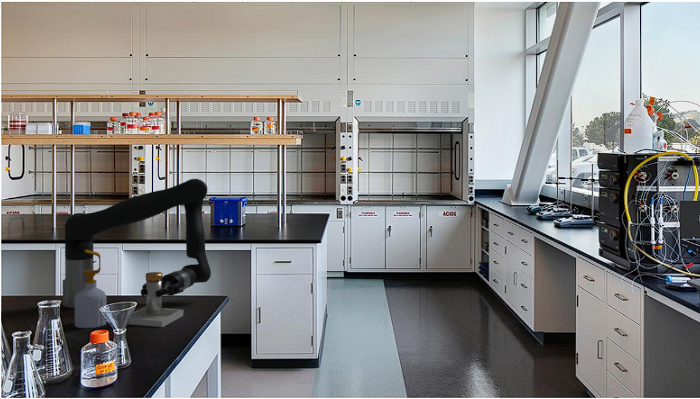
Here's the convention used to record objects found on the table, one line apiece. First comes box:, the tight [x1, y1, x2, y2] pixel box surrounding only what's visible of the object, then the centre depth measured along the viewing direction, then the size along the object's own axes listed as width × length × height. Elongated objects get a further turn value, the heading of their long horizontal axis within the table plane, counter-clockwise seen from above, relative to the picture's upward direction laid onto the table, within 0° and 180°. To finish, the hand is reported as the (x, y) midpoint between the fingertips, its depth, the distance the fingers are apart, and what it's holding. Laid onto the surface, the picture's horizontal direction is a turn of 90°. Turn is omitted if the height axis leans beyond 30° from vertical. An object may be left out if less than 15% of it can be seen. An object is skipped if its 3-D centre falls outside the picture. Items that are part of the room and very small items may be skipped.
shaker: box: [145, 271, 163, 315], centre depth 188 cm, size 5×5×13 cm
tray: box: [127, 306, 184, 328], centre depth 188 cm, size 14×14×3 cm
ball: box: [133, 312, 143, 318], centre depth 186 cm, size 3×3×3 cm
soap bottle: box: [74, 250, 107, 329], centre depth 181 cm, size 9×9×25 cm
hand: (149, 293), depth 185 cm, fingers closed on shaker, 4 cm apart
